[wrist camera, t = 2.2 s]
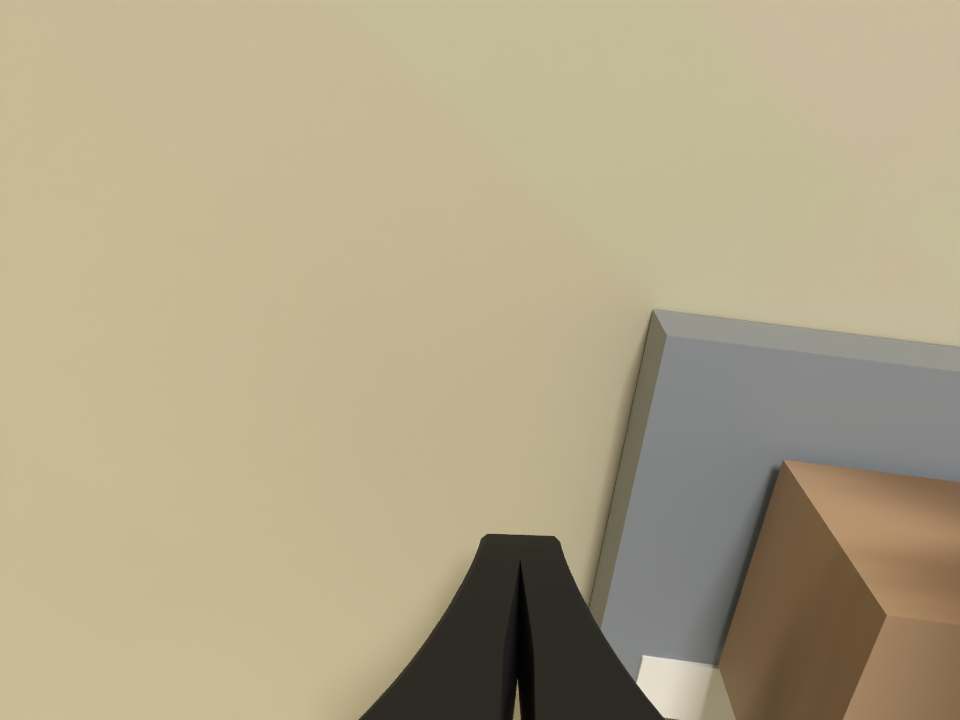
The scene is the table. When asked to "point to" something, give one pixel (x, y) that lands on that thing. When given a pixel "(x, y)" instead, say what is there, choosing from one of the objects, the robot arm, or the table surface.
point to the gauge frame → (744, 474)
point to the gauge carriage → (850, 600)
